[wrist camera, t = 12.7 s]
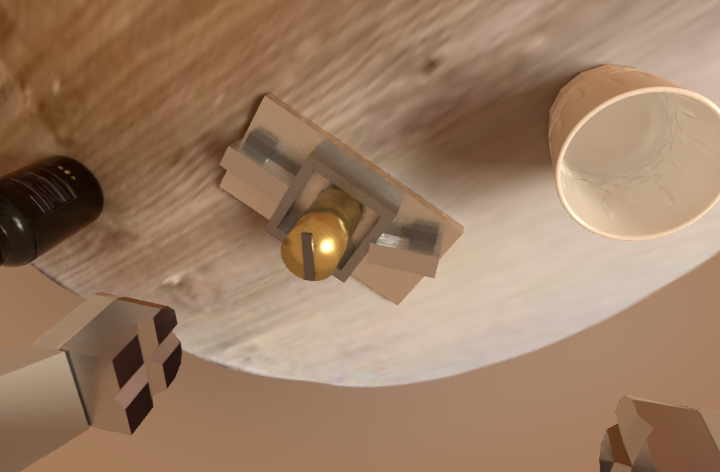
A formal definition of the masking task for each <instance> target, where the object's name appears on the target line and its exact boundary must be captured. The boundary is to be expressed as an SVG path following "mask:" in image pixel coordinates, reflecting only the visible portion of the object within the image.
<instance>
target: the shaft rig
mask: <svg viewBox="0 0 720 472" xmlns="http://www.w3.org/2000/svg"><path fill="white" fill-rule="evenodd" d="M219 165H220V166H222V167H223V168H225V169H226V170H227V172H226V174H225V176H224V178H223V180H222V182H221V184H220V186H219V187H221V188H222V189H224V190H225V191H227V192H228V193H230V194H231V195H233V196H234V197H236V198H237V199H239V200H240V201H242V202H243V203H245V204H246V205H248V206H249V207H251V208H252V209H254V210H255V211H257V212H258V213H260V214H261V215H263V216H264V217H266V218H267V219H269V222H268V223H267V225H266V227H265V228H264V230H265V231H267V232H268V233H270V234H271V235H273V236H274V237H276V238H277V239H279V240H280V241H282V242H283V241H284V239H285V238H286V236H287V235H288V234H289V232H290V231H291V230H292V229H293V227H294V226H295V225H296V223H297V222H298V221H299V219H300V218H301V217H302V215H303V214H304V213H305V211H306V210H307V209H308V207H309V206H310V205H311V204H312V202H313V201H314V200H315V198H316V197H317V196H318V195H319V194H320V193H321V192H323V191H325V190H329V189H339V190H342V191H345V192H346V193H348V194H349V195H351V196H352V197H354V199H355V200H356V201H357V203H358V204H359V207H360V210H361V219H360V222H359V224H358V226H357V228H356V230H355V232H354V234H353V236H352V238H351V240H350V242H349V244H348V246H347V248H346V250H345V252H344V254H343V256H342V258H341V260H340V261H339V263H338V265H337V267H336V269H335V271H334V272H333V274H332V275H333V276H335V277H336V278H338V279H339V280H341V281H342V282H345V281H346V280H347V279H348V277H349V276H350V275H353V276H354V277H356V278H357V279H359V280H360V281H362V282H363V283H365V284H366V285H368V286H369V287H371V288H372V289H374V290H375V291H377V292H378V293H380V294H381V295H383V296H384V297H386V298H387V299H389V300H390V301H392V302H393V303H395V304H396V305H399V303H400V302H401V301H402V300H403V299H404V298H405V297H406V296H407V295H408V293H409V292H410V291H411V290H412V289H413V288H414V287H415V286H416V285H417V284H418V282H419V281H420V280H421V279H422V278H423V277H424V276H427V277H431V278H435V273H436V269H437V265H438V261H439V259H440V258H441V257H442V256H443V255H444V254H445V253H446V251H447V250H448V249H449V248H450V247H451V246H452V245H453V244H454V243H455V241H456V240H457V239H458V238H459V237H460V236H461V235H462V234H463V230H464V227H463V226H462V225H460V224H459V223H457V222H456V221H454V220H453V219H452V218H450V217H449V216H447V215H446V214H444V213H443V212H441V211H440V210H439V209H437V208H436V207H434V206H433V205H431V204H430V203H428V202H427V201H426V200H424V199H423V198H421V197H420V196H418V195H417V194H415V193H414V192H413V191H411V190H410V189H408V188H407V187H405V186H404V185H402V184H401V183H400V182H398V181H397V180H395V179H394V178H392V177H391V176H389V175H388V174H387V173H385V172H384V171H382V170H381V169H379V168H378V167H376V166H375V165H374V164H372V163H371V162H369V161H368V160H366V159H365V158H363V157H362V156H361V155H359V154H358V153H356V152H355V151H353V150H352V149H350V148H349V147H348V146H346V145H345V144H343V143H342V142H340V141H339V140H337V139H336V138H335V137H333V136H332V135H330V134H329V133H327V132H326V131H324V130H323V129H322V128H320V127H319V126H317V125H316V124H314V123H313V122H311V121H310V120H309V119H307V118H306V117H304V116H303V115H301V114H300V113H298V112H297V111H296V110H294V109H293V108H291V107H290V106H288V105H287V104H285V103H284V102H283V101H281V100H280V99H278V98H277V97H275V96H274V95H272V94H271V93H269V94H267V95H265V96H264V98H263V100H262V102H261V104H260V106H259V108H258V110H257V112H256V114H255V116H254V118H253V120H252V122H251V124H250V126H249V128H248V130H247V132H246V134H245V136H244V138H243V140H241V139H238V140H236V141H235V142H234V143H232V144H231V145H229V146H228V148H227V150H226V152H225V154H224V156H223V158H222V160H221V162H220V164H219Z"/></svg>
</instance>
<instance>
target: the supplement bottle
mask: <svg viewBox="0 0 720 472" xmlns="http://www.w3.org/2000/svg"><path fill="white" fill-rule="evenodd" d="M103 204H104V198H103V193H102V189H101V187H100V185H99V183H98V181H97V179H96V178H95V176H94V175H93V174H92V173H91V172H90V171H89V170H88V169H87V168H86V167H85V166H84V165H82V164H81V163H79V162H77V161H75V160H73V159H71V158H68V157H63V156H52V157H48V158H45V159H43V160H40V161H38V162H35V163H33V164H31V165H28V166H26V167H24V168H21V169H19V170H17V171H14V172H12V173H10V174H7V175H5V176H3V177H0V266H5V267H17V266H23V265H26V264H28V263H30V262H31V261H33V260H35V259H36V258H38V257H40V256H41V255H43V254H44V253H46V252H47V251H49V250H50V249H52V248H54V247H55V246H57V245H58V244H60V243H61V242H63V241H64V240H66V239H68V238H69V237H71V236H72V235H74V234H75V233H77V232H78V231H80V230H82V229H83V228H85V227H86V226H88V225H89V224H91V223H92V222H94V221H95V220H96V219H97V218H98V217H99V216H100V214H101V212H102V209H103Z"/></svg>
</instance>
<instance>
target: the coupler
mask: <svg viewBox="0 0 720 472" xmlns="http://www.w3.org/2000/svg"><path fill="white" fill-rule="evenodd" d="M360 219H361V210H360V207H359V204H358V203H357V201H356V200H355V199H354V197H352V196H351V195H349V194H348V193H346V192H345V191H342V190H339V189H329V190H325V191H323V192H321V193H320V194H319V195H318V196H317V197H316V198H315V200H314V201H313V202H312V204H311V205H310V206H309V207H308V209H307V210H306V211H305V213H304V214H303V215H302V217H301V218H300V219H299V221H298V222H297V223H296V225H295V226H294V227H293V229H292V230H291V231H290V232H289V234H288V235H287V236H286V238H285V239H284V241H283V243H282V246H281V255H282V259H283V261H284V263H285V265H286V266H287V268H288V269H289V270H290V271H291V272H292V273H293V274H295V275H296V276H298V277H300V278H302V279H304V280H309V281H320V280H324V279H326V278H328V277H329V276H331V275H332V274H333V272H334V271H335V269H336V267H337V265H338V263H339V261H340V260H341V258H342V256H343V254H344V252H345V250H346V248H347V246H348V244H349V242H350V240H351V238H352V236H353V234H354V232H355V230H356V228H357V226H358V224H359V222H360Z"/></svg>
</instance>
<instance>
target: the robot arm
mask: <svg viewBox="0 0 720 472" xmlns="http://www.w3.org/2000/svg"><path fill="white" fill-rule="evenodd" d="M177 324H178V323H177V319H176V314H175V310H174V309H172V308H170V307H169V306H164V305H160V304H155V303H151V302H146V301H142V300H137V299H132V298H128V297H120V296H116V295H112V294H107V293H103V292H100V293H96V294H92V295H91V296H90V297H89V298H88V299H86V300H85V301H84V302H83V303H81V304H80V305H79V306H78V307H76V308H75V309H74V310H73V311H72V312H70V313H69V314H68V315H67V316H65V317H64V318H63V319H62V320H61V321H59V322H58V323H57V324H56V325H55V326H53V327H52V328H51V329H50V330H48V331H47V332H46V333H45V334H43V335H42V336H41V337H40V338H39V339H37V340H36V341H35V342H34V343H32V344H28V343H22V344H19V345H17V346H14V347H11V348H8V349H6V350H3V351H0V472H20V471H22V470H23V469H25V468H27V467H28V466H30V465H31V464H33V463H35V462H36V461H38V460H40V459H41V458H43V457H45V456H46V455H48V454H49V453H51V452H53V451H54V450H56V449H57V448H59V447H61V446H62V445H64V444H66V443H67V442H69V441H70V440H72V439H74V438H75V437H77V436H78V435H80V434H82V433H83V432H85V431H87V430H88V429H89V426H90V427H95V428H100V429H104V430H109V431H114V432H119V433H123V434H128V435H132V434H133V433H134V432H135V430H136V429H137V428H138V426H139V425H140V424H141V422H142V421H143V420H144V419H145V417H146V416H147V415H148V413H149V412H150V411H151V409H152V408H153V396H154V395H156V394H158V393H160V392H162V391H164V390H166V389H167V388H168V387H169V386H170V384H171V383H172V381H173V380H174V379H175V377H176V374H177V372H178V369H179V367H180V364H181V357H182V348H181V342H180V340H179V339H178V338H177V337H176V336H175V334H174V333H173V332H172V330H173V329H174V328H175V327H176V325H177ZM615 414H616V418H617V421H618V424H616V425H614V426H612V427H610V428H608V429H607V430H606V433H605V435H604V438H603V440H602V443H601V449H600V457H599V464H600V472H720V412H718V411H712V410H707V409H701V408H696V407H691V408H690V407H688V406H682V405H677V404H672V403H666V402H661V401H656V400H650V399H644V398H639V397H634V396H629V395H625V396H623V397H622V398H621V399H620V400H619V403H618V405H617V407H616V409H615Z"/></svg>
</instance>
